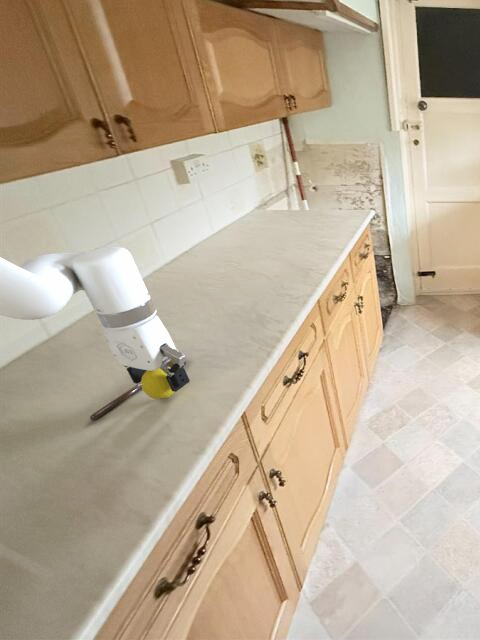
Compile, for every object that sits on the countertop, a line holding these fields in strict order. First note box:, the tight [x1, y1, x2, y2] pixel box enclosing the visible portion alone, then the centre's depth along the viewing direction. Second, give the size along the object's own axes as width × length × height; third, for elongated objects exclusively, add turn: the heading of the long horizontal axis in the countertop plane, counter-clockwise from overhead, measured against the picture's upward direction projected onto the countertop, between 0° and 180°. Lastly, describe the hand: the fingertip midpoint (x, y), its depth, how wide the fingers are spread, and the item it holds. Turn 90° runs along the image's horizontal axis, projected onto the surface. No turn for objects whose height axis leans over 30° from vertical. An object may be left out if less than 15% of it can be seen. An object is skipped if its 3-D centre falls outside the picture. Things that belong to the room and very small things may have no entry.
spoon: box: [89, 361, 174, 421], centre depth 84 cm, size 18×5×1 cm, turn 167°
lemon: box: [140, 367, 175, 400], centre depth 81 cm, size 6×6×8 cm
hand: (162, 382), depth 81 cm, fingers open, 9 cm apart
